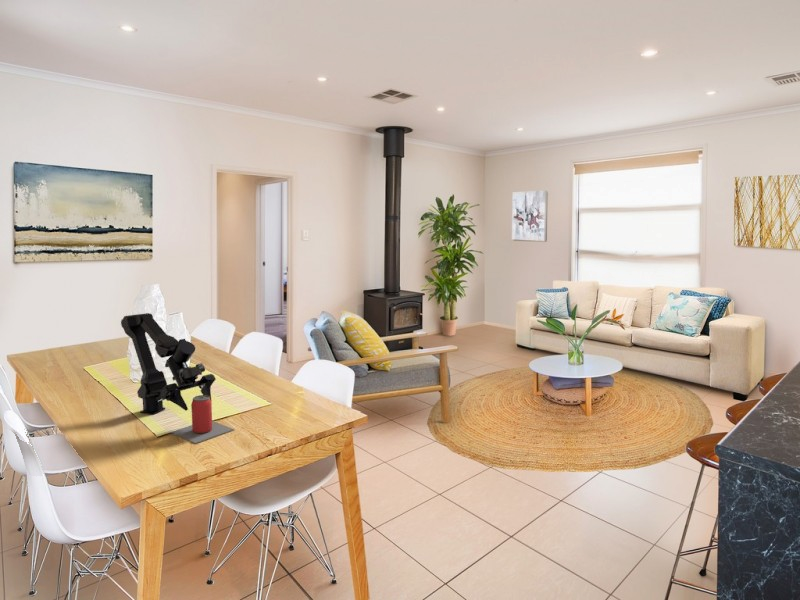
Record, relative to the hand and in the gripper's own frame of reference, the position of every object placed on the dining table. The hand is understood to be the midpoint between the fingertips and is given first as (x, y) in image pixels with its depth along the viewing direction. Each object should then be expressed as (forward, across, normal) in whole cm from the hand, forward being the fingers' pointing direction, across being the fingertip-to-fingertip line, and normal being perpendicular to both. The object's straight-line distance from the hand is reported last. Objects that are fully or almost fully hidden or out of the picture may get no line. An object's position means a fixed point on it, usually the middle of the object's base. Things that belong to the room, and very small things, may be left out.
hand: (199, 406), depth 180 cm
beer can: (+7, 0, +5) cm, 9 cm away
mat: (+7, 0, +5) cm, 9 cm away
